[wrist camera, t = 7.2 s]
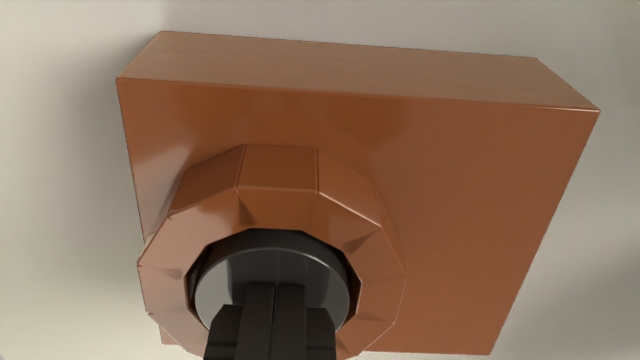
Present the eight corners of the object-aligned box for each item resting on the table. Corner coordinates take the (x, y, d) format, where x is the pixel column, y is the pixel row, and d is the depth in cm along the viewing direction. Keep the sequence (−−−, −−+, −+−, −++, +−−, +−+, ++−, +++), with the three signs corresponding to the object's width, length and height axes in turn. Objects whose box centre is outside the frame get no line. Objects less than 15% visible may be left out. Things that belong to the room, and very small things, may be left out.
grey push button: (212, 296, 14) (199, 352, 13) (204, 193, 12) (187, 244, 11) (338, 301, 15) (341, 357, 13) (352, 201, 13) (358, 252, 11)
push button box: (186, 265, 20) (144, 398, 15) (160, 29, 14) (77, 114, 9) (460, 277, 20) (509, 408, 15) (537, 57, 15) (652, 150, 10)
